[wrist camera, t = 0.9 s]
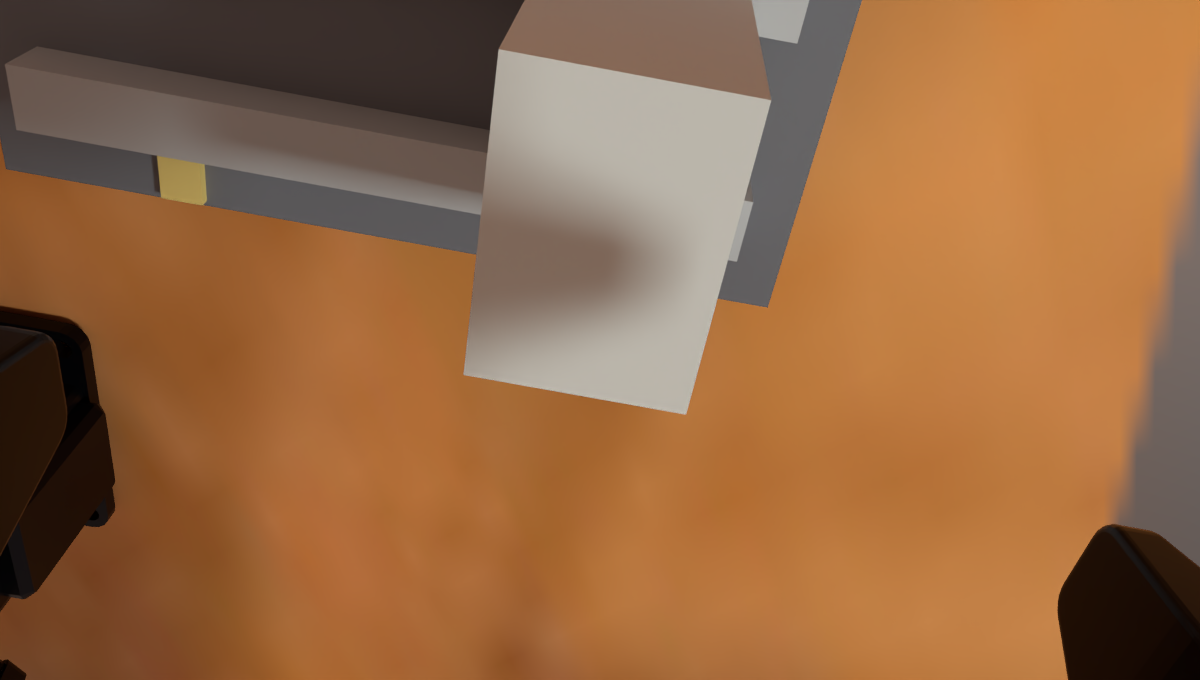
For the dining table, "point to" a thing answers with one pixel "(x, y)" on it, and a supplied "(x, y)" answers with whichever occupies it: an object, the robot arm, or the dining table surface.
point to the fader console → (347, 110)
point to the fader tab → (613, 193)
